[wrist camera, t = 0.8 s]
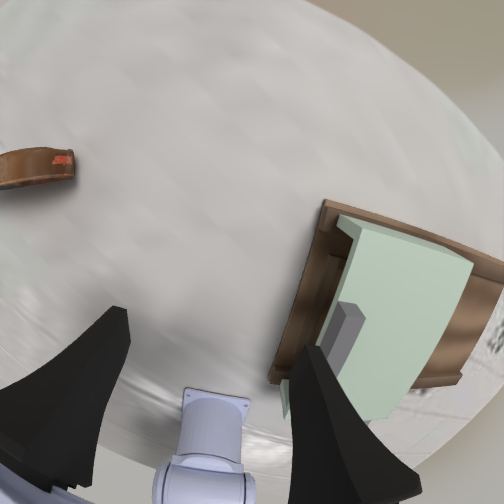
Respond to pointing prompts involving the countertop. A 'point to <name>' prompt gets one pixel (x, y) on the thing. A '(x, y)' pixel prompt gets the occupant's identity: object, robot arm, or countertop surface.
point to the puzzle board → (329, 275)
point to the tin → (35, 166)
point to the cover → (387, 315)
